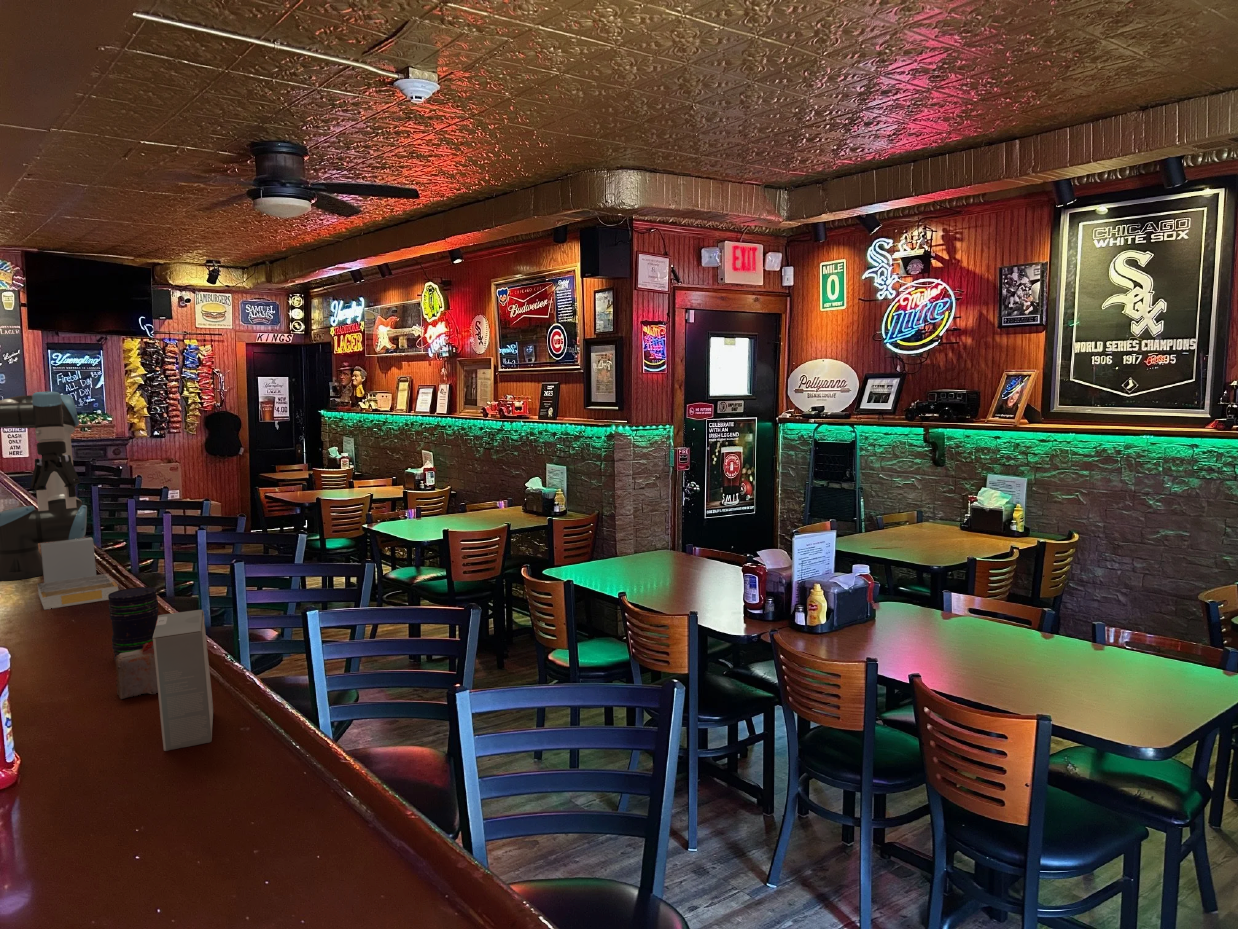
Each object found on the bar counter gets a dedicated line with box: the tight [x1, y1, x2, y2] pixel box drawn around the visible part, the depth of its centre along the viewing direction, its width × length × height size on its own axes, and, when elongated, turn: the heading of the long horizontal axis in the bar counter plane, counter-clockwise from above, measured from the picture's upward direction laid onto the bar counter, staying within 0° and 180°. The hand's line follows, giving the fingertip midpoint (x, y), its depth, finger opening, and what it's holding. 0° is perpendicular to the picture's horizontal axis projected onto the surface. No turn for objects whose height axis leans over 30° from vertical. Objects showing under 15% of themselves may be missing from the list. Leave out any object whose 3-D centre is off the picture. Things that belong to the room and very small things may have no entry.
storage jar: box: [108, 586, 160, 661], centre depth 196 cm, size 10×10×15 cm
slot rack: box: [37, 573, 119, 610], centre depth 258 cm, size 24×19×4 cm
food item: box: [113, 641, 158, 700], centre depth 173 cm, size 14×8×10 cm, turn 125°
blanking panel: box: [39, 536, 97, 583], centre depth 276 cm, size 5×14×14 cm, turn 127°
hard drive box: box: [153, 609, 214, 752], centre depth 150 cm, size 16×8×20 cm, turn 25°
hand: (57, 509), depth 266 cm, fingers open, 13 cm apart
